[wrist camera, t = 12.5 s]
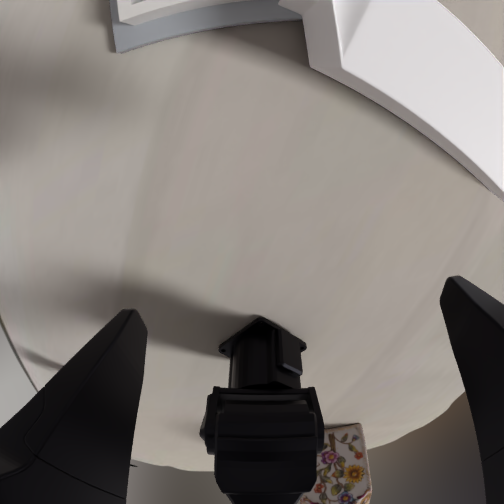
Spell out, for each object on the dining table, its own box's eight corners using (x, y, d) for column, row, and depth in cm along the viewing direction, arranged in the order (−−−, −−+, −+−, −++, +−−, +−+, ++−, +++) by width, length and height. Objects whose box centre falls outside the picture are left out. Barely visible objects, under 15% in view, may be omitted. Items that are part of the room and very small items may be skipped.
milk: (535, 230, 14) (263, 37, 9) (491, 192, 19) (256, 48, 14) (567, 166, 11) (320, -72, 6) (519, 137, 16) (295, -33, 10)
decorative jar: (354, 441, 49) (364, 517, 34) (297, 449, 50) (301, 527, 35) (362, 421, 42) (377, 513, 27) (295, 431, 43) (300, 526, 28)
